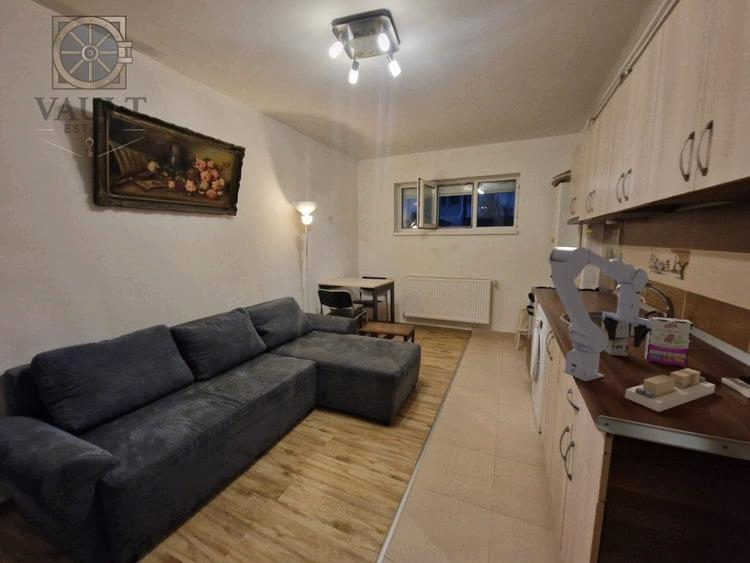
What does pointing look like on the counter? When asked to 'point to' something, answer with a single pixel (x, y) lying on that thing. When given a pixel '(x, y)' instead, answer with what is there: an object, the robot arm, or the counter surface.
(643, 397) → the white block holder
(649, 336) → the candy bar box
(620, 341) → the coffee box
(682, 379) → the beige rectangular block
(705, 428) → the counter surface
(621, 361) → the counter surface
